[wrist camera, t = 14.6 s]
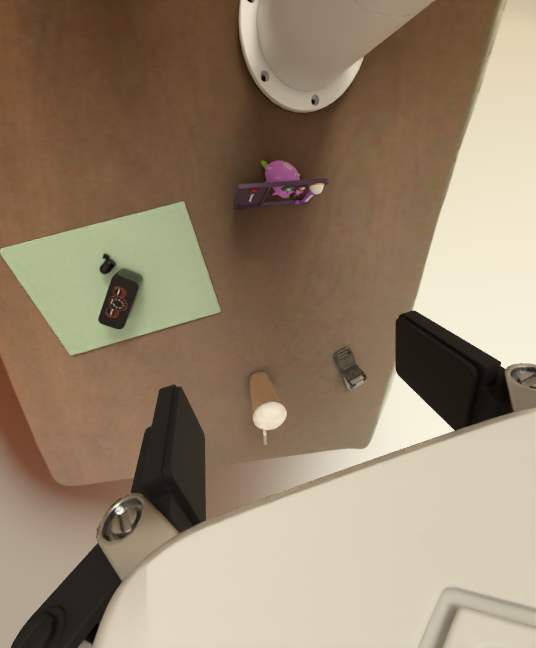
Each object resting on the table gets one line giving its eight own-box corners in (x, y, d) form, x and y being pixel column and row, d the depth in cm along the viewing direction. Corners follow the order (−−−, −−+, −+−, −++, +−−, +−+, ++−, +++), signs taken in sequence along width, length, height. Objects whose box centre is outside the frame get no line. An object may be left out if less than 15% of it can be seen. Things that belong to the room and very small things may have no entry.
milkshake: (239, 392, 45) (248, 443, 36) (250, 365, 43) (262, 411, 34) (265, 396, 46) (280, 446, 38) (277, 370, 44) (295, 415, 36)
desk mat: (-1, 248, 30) (-3, 249, 29) (183, 201, 31) (183, 201, 31) (71, 354, 36) (70, 355, 36) (220, 310, 38) (221, 311, 38)
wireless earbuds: (147, 269, 33) (142, 277, 31) (129, 319, 36) (122, 331, 33) (105, 251, 32) (96, 258, 29) (88, 305, 34) (78, 316, 31)
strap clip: (362, 380, 49) (375, 396, 46) (346, 388, 49) (358, 405, 46) (348, 345, 45) (362, 359, 41) (332, 353, 45) (343, 369, 42)
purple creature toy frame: (239, 197, 26) (329, 189, 28) (230, 137, 25) (324, 132, 27) (234, 215, 33) (308, 209, 34) (228, 168, 32) (303, 163, 33)
